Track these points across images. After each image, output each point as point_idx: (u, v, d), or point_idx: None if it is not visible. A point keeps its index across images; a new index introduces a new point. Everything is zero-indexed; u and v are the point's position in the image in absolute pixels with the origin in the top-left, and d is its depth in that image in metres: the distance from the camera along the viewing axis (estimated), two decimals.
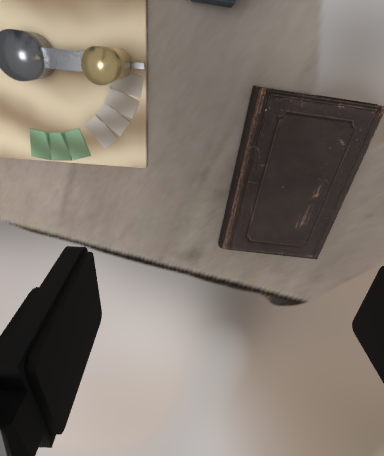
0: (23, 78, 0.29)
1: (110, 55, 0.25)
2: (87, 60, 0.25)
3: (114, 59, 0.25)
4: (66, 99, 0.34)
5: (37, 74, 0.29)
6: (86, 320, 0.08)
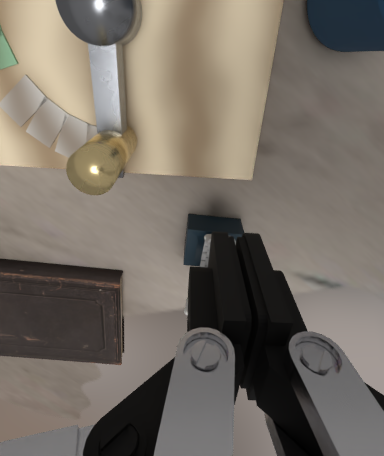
0: (60, 3, 0.17)
1: (107, 190, 0.18)
2: (95, 159, 0.17)
3: (104, 191, 0.19)
4: (57, 49, 0.22)
5: (73, 32, 0.18)
6: None
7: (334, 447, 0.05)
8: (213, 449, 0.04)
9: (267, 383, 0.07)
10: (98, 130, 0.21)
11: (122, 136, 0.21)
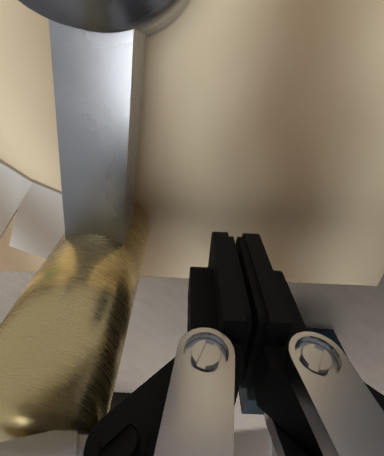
0: None
1: None
2: (34, 420, 0.05)
3: None
4: None
5: None
6: None
7: (333, 447, 0.05)
8: (213, 449, 0.04)
9: (267, 383, 0.07)
10: (68, 232, 0.09)
11: (124, 250, 0.09)
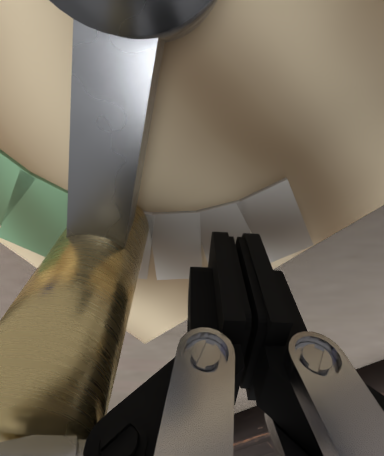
0: None
1: None
2: (34, 425, 0.05)
3: None
4: None
5: None
6: None
7: (333, 447, 0.05)
8: (213, 449, 0.04)
9: (267, 383, 0.07)
10: (69, 231, 0.09)
11: (126, 252, 0.09)
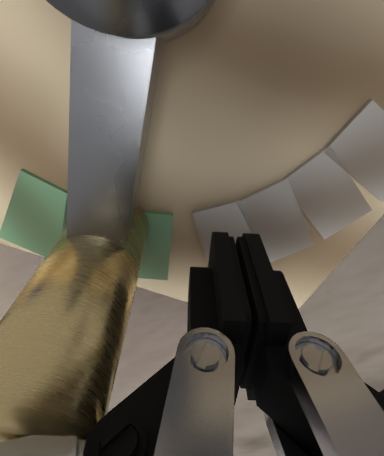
0: None
1: None
2: (33, 425, 0.05)
3: None
4: (177, 132, 0.10)
5: None
6: None
7: (333, 447, 0.05)
8: (213, 449, 0.04)
9: (267, 383, 0.07)
10: (69, 232, 0.09)
11: (126, 253, 0.09)
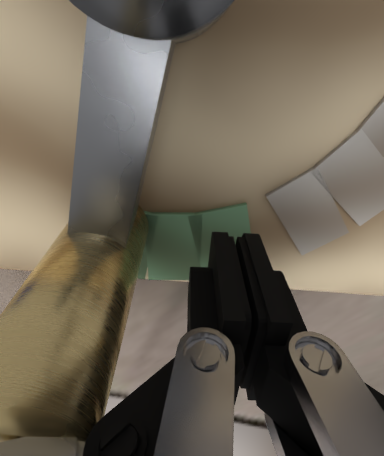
0: None
1: None
2: (33, 425, 0.05)
3: None
4: (232, 120, 0.10)
5: None
6: None
7: (334, 447, 0.05)
8: (213, 449, 0.04)
9: (267, 383, 0.07)
10: (71, 229, 0.09)
11: (126, 252, 0.09)
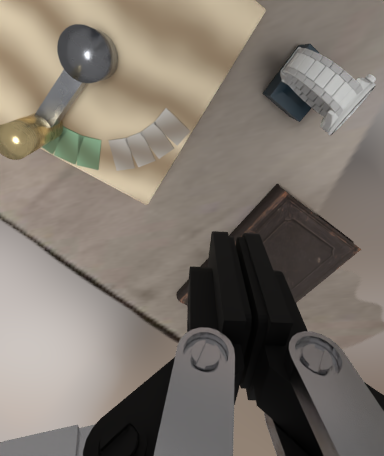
0: (62, 39, 0.24)
1: (14, 158, 0.25)
2: (19, 137, 0.24)
3: (12, 157, 0.26)
4: (103, 109, 0.31)
5: (59, 57, 0.25)
6: None
7: (334, 447, 0.05)
8: (213, 449, 0.04)
9: (267, 383, 0.07)
10: (36, 113, 0.28)
11: (50, 129, 0.29)
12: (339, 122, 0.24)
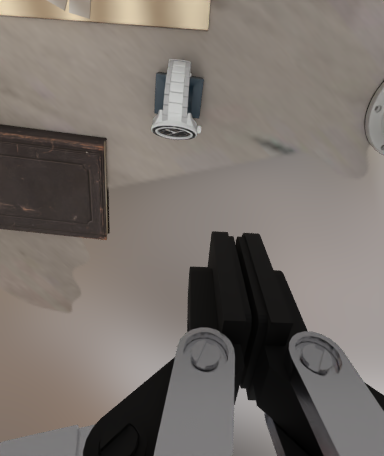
0: None
1: None
2: None
3: None
4: None
5: None
6: None
7: (334, 447, 0.05)
8: (213, 449, 0.04)
9: (267, 383, 0.07)
10: None
11: None
12: (159, 125, 0.29)
